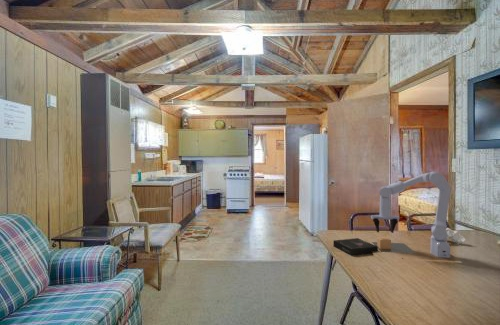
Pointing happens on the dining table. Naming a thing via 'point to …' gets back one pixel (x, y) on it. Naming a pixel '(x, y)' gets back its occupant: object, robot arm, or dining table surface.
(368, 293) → the dining table surface
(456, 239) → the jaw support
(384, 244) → the tan wooden block
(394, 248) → the base plate
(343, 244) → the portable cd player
